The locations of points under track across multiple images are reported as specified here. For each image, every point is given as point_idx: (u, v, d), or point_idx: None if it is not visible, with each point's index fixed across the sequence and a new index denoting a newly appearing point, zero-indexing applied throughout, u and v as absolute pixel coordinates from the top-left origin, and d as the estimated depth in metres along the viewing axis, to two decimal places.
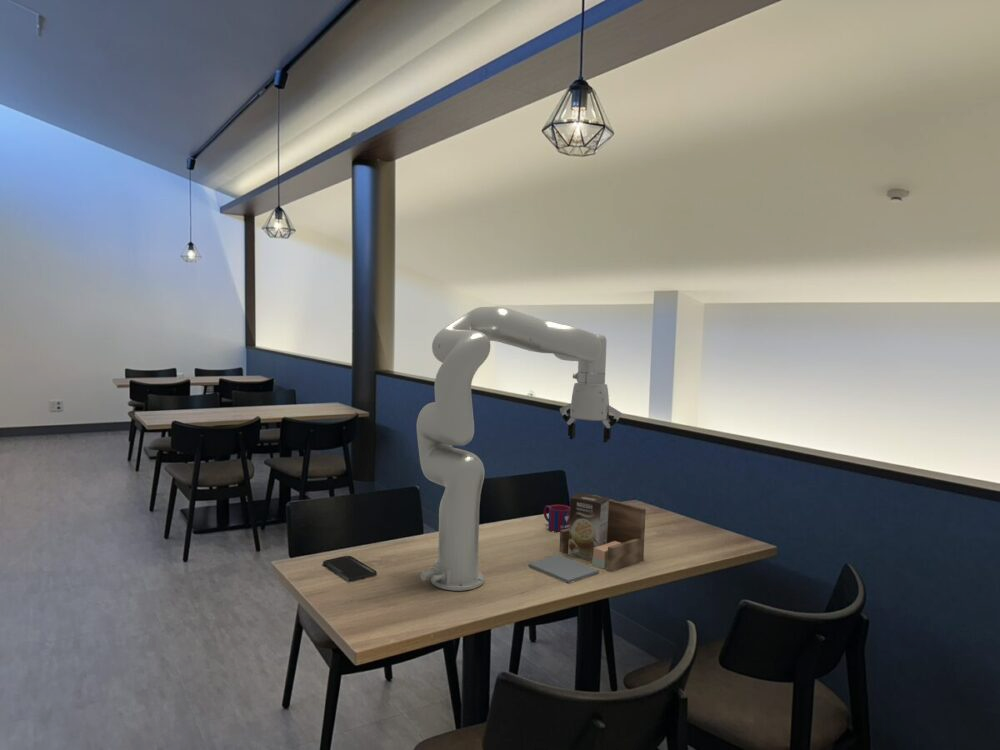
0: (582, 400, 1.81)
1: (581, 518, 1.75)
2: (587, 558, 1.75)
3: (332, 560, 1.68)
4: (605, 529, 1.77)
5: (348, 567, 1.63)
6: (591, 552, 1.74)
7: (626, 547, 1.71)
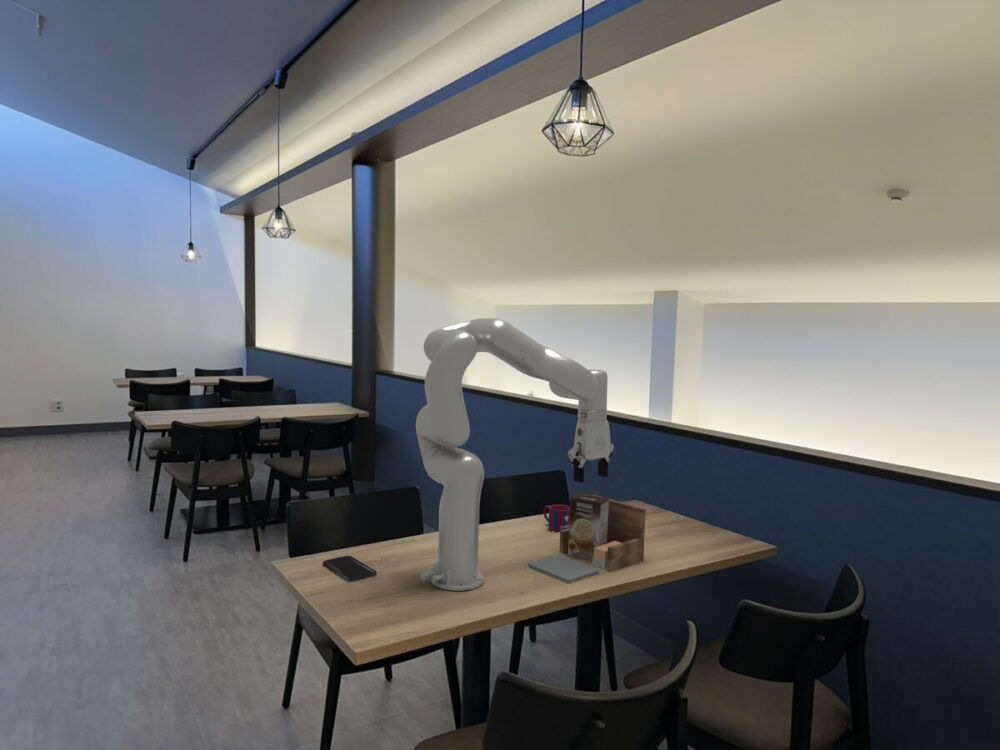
0: (595, 439, 1.73)
1: (581, 518, 1.75)
2: (587, 558, 1.75)
3: (332, 560, 1.68)
4: (605, 529, 1.77)
5: (348, 567, 1.63)
6: (591, 552, 1.74)
7: (626, 547, 1.71)
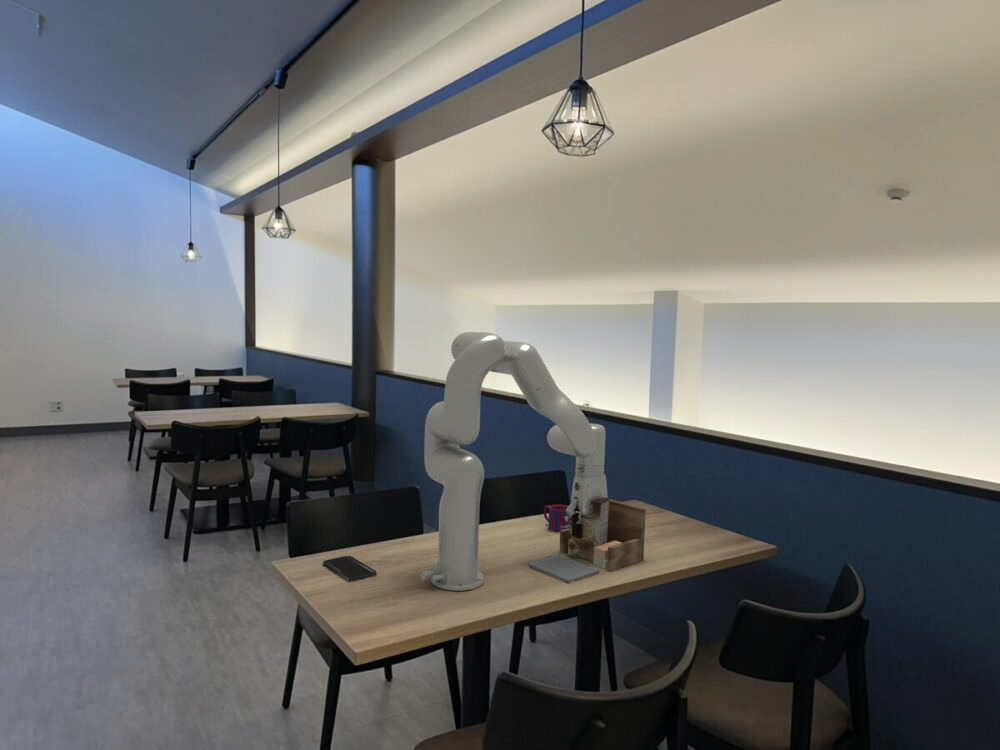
0: (592, 494, 1.74)
1: None
2: (587, 558, 1.75)
3: (332, 560, 1.68)
4: (605, 529, 1.77)
5: (348, 567, 1.63)
6: (591, 552, 1.74)
7: (626, 547, 1.71)
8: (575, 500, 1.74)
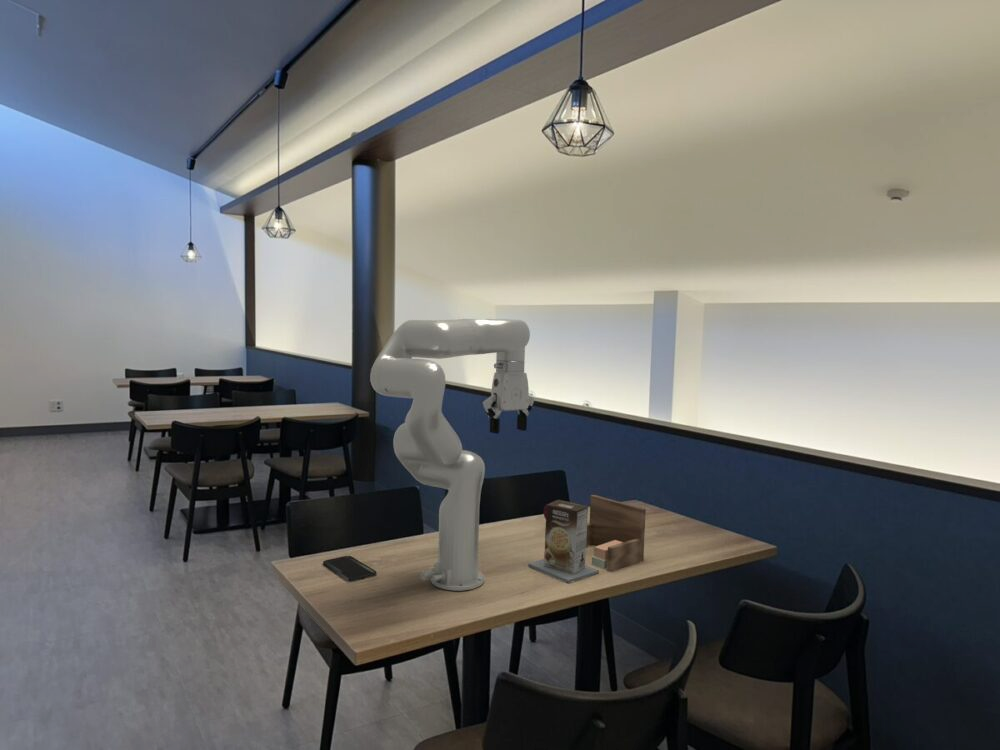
0: (512, 390, 1.72)
1: (557, 527, 1.64)
2: (563, 569, 1.64)
3: (332, 560, 1.68)
4: (583, 539, 1.65)
5: (348, 567, 1.63)
6: (567, 563, 1.63)
7: (626, 547, 1.71)
8: (494, 395, 1.72)
